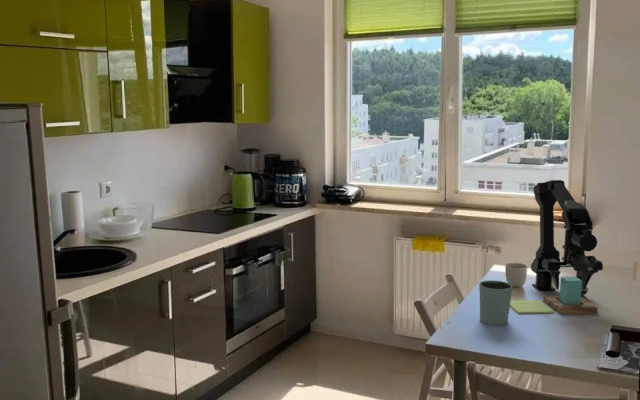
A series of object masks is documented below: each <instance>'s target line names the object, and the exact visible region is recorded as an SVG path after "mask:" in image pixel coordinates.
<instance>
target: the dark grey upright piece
mask: <svg viewBox="0 0 640 400" xmlns="http://www.w3.org/2000/svg"><path fill="white" fill-rule="evenodd" d="M575 272H576V273H575V274H576V275H575V277H577V278H578V279H580V280H582V273H583V271H575ZM588 291H589V288H588V287H587V286H586V288H585V289H583V288H581V296H582V297H583V298H585V299H586V300H588V297H586V295H587V293H588Z"/></svg>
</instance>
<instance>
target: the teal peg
mask: <svg viewBox="0 0 640 400" xmlns="http://www.w3.org/2000/svg"><path fill="white" fill-rule="evenodd" d="M559 287H560V288H559V296H560V299H559V301H560V302H561V303H562V304H564V305H580V302H581V288H582V280H580V279H578V278H577V277H576V276H560V282H559Z"/></svg>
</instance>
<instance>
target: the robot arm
mask: <svg viewBox="0 0 640 400" xmlns="http://www.w3.org/2000/svg"><path fill="white" fill-rule="evenodd" d="M533 194H534V199H535V200H534V201H536V203H537V205H538V206H539V236H540V237H539V239H540V240H539V242H540V244H539V247H538V248H537V250H536V251H535V258H534V259H533V261H532V262H531V264H530V269H531V270H530V271H531V272H533V273H535V274H536V275H535V283H532V284H531V285H532V287H533V288H535V289H536V290H538V291H556V290H557V291H559V290H560V288H559V287H560V274H561V271H560V269H561V268H573V270H574V271H575V272H577V271H583V273H582V288H583V289H585V288H586V287H587V286H588V284H589V283H590V280H591V278H592V276H594V275H595V274H596V273H599V271H603V269H604V263H603V262H602V261H601V260H600V259H597V258H596V256H595V255H586V253H585V252H591V251H593V250H595V249H596V247H597V246H598V240H597V237H596V236H595V235H594V234H592V233H593V228H594V227H593V222H592V218H591V216H590V213H589V211H588V209H587V208H586V207H585V206H584V205H583V204H582V203H580V202H577V201H576V200H575V199H574V197H573V195H572V194H571V192H570V191H569V189H568V188H567V187H566V184H565V181H564V180H561V179H550V180H547V181H544V182H537V183H536V185H534V186H533ZM557 203H558V205H559V206H560V208H561V210H562V212H561V217H562V220H563V223H564V226H563V228H564V229H565V231H564V232H565V234H564V244H563V245H562V249H563V256H562V257H561V259H560V254H561V253H560V251H559V250H558V249H557V248H556V247H555V225H554V224H555V223H554V222H555V221H554V220H555V218H554V214H555V211H554V210H555V209H554V207H555V204H557ZM561 260H562V261H561ZM553 283H554V286H555V287H554V286H553Z"/></svg>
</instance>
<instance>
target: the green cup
mask: <svg viewBox="0 0 640 400" xmlns="http://www.w3.org/2000/svg"><path fill="white" fill-rule="evenodd" d="M478 286H479V320H480V322H481V323H483V324H484V325H489V326H493V327H494V326H498V327H499V326H505V325H507V324H508V322H509V313H510V308H511V307H510V301H512V300H511V298H512V292H513V285H512V284H511V283H509V282H505V281H500V280H491V279H490V280H483V281H480V282H479V283H478Z"/></svg>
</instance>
